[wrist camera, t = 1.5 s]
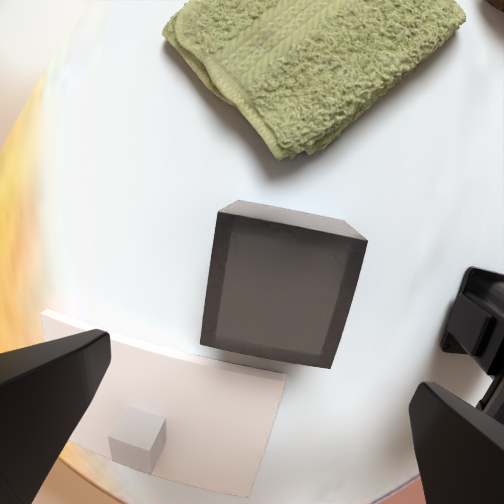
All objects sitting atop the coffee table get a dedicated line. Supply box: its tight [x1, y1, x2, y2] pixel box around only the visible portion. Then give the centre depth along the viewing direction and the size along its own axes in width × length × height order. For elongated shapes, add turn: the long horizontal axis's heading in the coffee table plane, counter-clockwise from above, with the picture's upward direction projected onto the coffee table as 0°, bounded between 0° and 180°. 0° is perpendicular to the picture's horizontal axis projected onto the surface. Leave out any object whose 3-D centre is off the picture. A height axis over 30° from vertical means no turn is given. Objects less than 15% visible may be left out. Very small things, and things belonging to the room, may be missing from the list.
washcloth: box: [162, 0, 466, 161], centre depth 15 cm, size 13×18×3 cm
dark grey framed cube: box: [200, 200, 368, 369], centre depth 17 cm, size 6×6×6 cm
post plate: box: [41, 309, 286, 497], centre depth 22 cm, size 20×16×5 cm
